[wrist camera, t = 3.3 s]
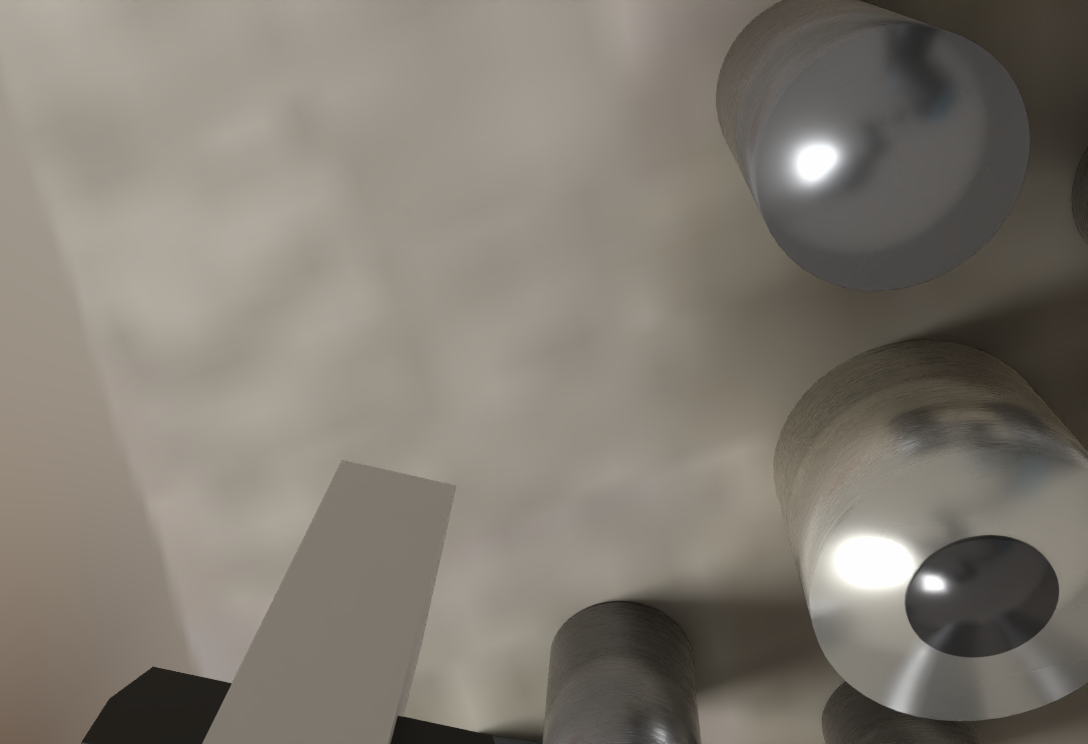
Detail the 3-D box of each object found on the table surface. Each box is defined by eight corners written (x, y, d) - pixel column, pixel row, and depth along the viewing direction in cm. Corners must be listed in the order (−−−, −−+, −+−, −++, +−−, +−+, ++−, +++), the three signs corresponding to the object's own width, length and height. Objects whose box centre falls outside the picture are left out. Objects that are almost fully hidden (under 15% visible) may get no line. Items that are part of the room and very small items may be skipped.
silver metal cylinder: (825, 310, 17) (882, 419, 13) (1096, 375, 17) (1227, 500, 14) (738, 539, 19) (768, 687, 16) (981, 594, 19) (1066, 754, 16)
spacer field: (749, -29, 15) (807, -4, 10) (1670, 200, 15) (2110, 318, 11) (537, 695, 21) (515, 906, 17) (1192, 841, 22) (1342, 1084, 17)
